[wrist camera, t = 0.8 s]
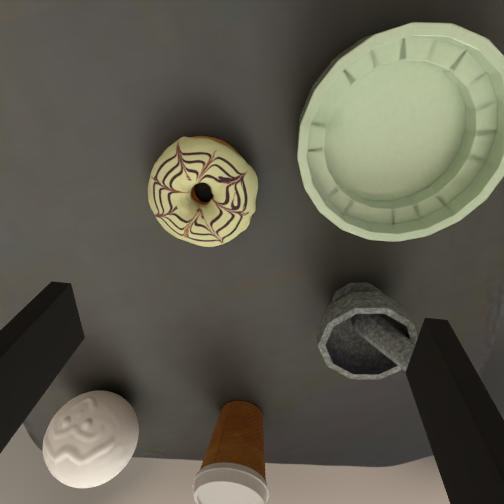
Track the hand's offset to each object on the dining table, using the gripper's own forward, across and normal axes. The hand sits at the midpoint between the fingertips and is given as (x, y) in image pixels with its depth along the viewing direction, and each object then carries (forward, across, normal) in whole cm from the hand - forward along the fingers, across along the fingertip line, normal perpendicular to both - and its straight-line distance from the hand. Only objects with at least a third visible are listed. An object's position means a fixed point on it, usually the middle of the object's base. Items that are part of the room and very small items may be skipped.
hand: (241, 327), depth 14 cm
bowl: (+24, +10, +3) cm, 27 cm away
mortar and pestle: (+24, +12, -16) cm, 31 cm away
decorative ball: (+24, -22, -39) cm, 51 cm away
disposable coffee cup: (+24, -2, -38) cm, 45 cm away
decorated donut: (+24, -6, -3) cm, 26 cm away
